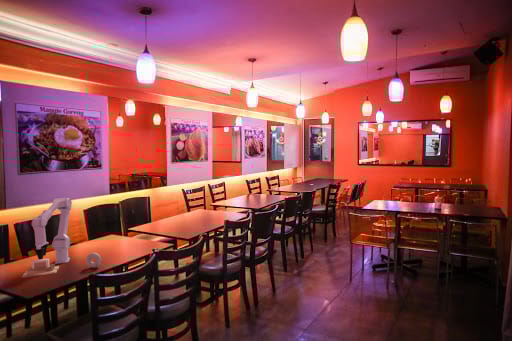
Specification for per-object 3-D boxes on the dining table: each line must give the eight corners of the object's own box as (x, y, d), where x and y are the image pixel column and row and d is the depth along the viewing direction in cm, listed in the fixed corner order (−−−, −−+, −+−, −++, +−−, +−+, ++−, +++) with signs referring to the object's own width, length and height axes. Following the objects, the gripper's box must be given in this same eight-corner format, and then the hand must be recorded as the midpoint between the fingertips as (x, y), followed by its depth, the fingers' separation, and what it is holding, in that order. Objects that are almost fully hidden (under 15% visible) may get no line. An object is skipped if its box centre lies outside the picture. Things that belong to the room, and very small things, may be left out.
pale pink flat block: (33, 271, 216) (32, 260, 215) (49, 269, 219) (48, 258, 219) (32, 272, 214) (31, 261, 213) (48, 270, 217) (47, 259, 216)
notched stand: (27, 271, 219) (26, 266, 219) (59, 267, 225) (58, 261, 225) (21, 278, 208) (21, 272, 207) (55, 273, 214) (55, 267, 214)
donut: (102, 266, 223) (101, 251, 222) (99, 268, 219) (98, 253, 218) (88, 266, 224) (87, 251, 223) (85, 268, 220) (84, 253, 220)
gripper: (45, 238, 210) (46, 259, 212) (50, 232, 224) (51, 253, 225) (31, 239, 208) (33, 261, 209) (37, 234, 222) (39, 254, 223)
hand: (42, 257), depth 217 cm, fingers open, 7 cm apart
